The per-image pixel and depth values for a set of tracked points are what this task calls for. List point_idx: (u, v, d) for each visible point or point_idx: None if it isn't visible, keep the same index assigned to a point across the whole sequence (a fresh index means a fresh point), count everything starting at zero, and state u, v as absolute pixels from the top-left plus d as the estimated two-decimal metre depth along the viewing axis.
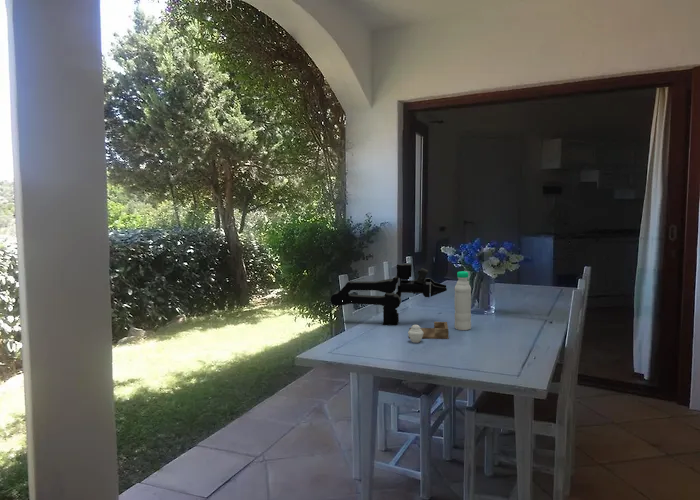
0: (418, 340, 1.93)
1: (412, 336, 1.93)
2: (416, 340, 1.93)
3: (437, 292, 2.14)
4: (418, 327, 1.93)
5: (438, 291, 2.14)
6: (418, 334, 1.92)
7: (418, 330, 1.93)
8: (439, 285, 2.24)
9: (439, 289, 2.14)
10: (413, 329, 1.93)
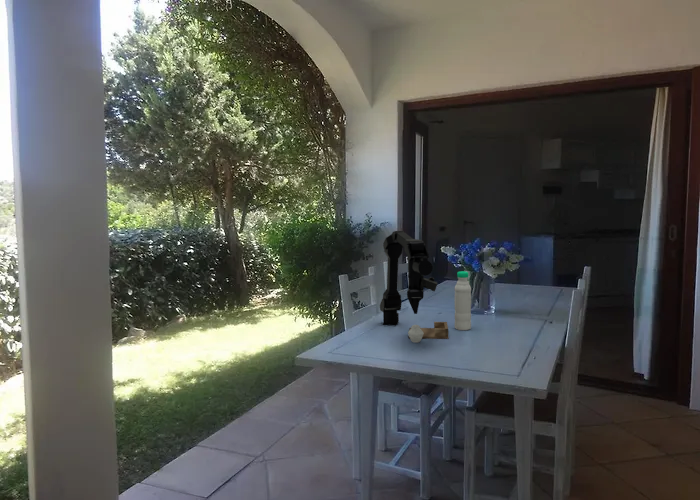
0: (418, 340, 1.93)
1: (412, 336, 1.93)
2: (416, 340, 1.93)
3: (412, 304, 1.88)
4: (418, 327, 1.93)
5: (413, 305, 1.88)
6: (418, 334, 1.92)
7: (418, 330, 1.93)
8: None
9: (416, 306, 1.88)
10: (413, 329, 1.93)
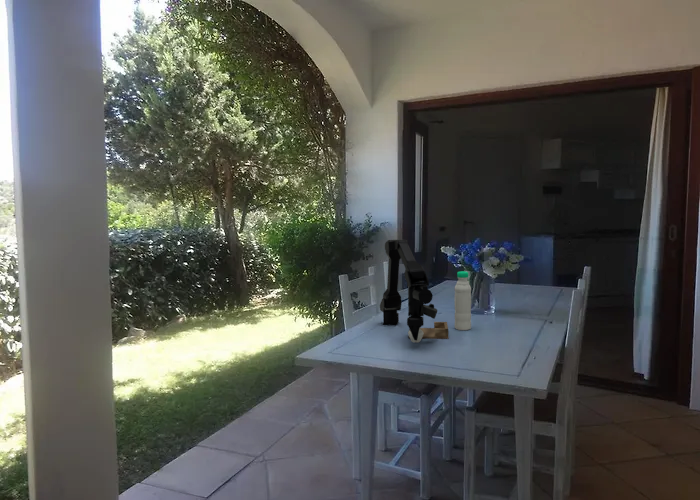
0: (418, 340, 1.93)
1: (412, 336, 1.93)
2: (416, 340, 1.93)
3: (412, 330, 1.90)
4: None
5: (413, 331, 1.90)
6: (418, 334, 1.92)
7: None
8: None
9: (416, 332, 1.90)
10: None
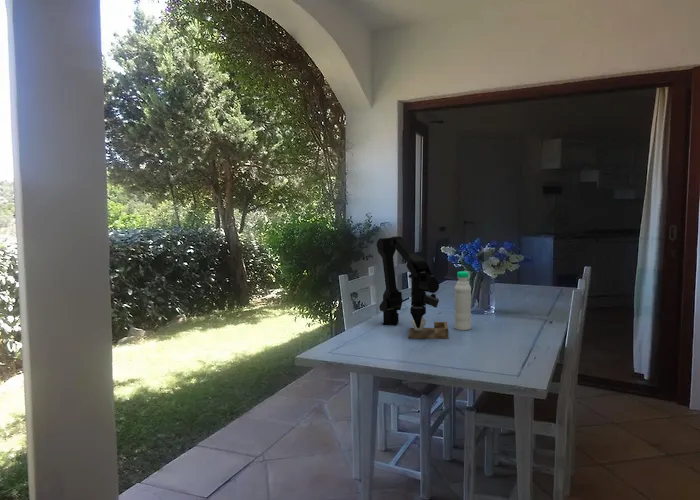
0: (421, 328, 2.04)
1: (415, 324, 2.04)
2: (419, 328, 2.04)
3: (415, 319, 2.01)
4: None
5: (416, 320, 2.02)
6: (421, 322, 2.03)
7: (421, 319, 2.04)
8: None
9: (418, 320, 2.02)
10: None
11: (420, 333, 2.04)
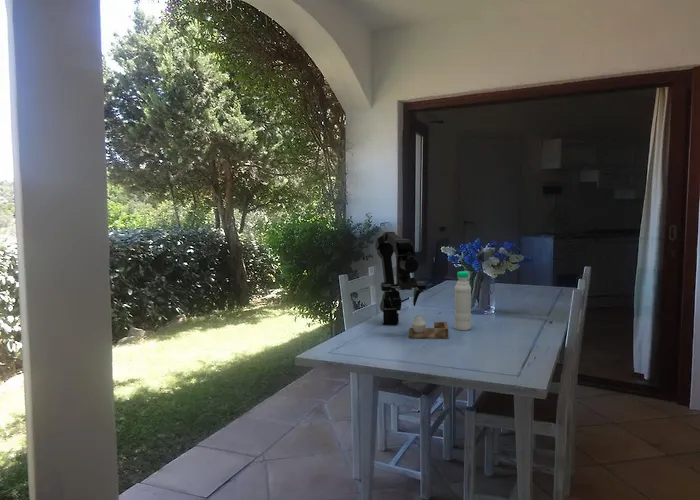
0: (421, 330, 2.04)
1: (415, 326, 2.04)
2: (419, 330, 2.04)
3: (388, 296, 2.07)
4: (421, 318, 2.05)
5: (389, 297, 2.06)
6: (421, 325, 2.03)
7: (421, 321, 2.04)
8: (414, 298, 2.06)
9: (390, 299, 2.05)
10: (416, 320, 2.04)
11: (420, 333, 2.04)
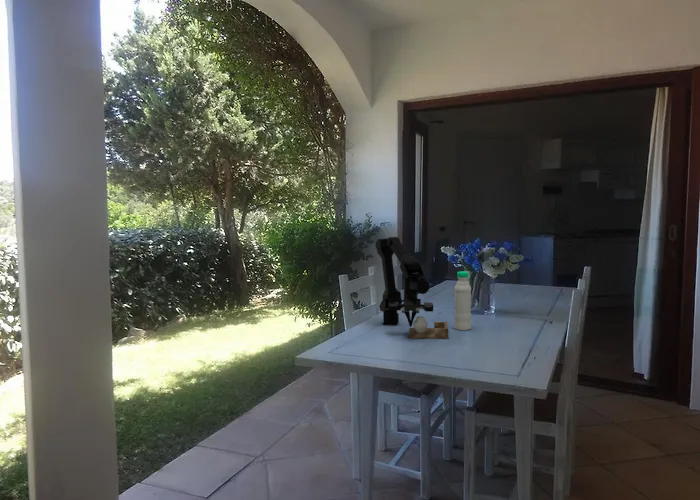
0: (422, 330, 2.04)
1: (417, 326, 2.04)
2: (420, 330, 2.04)
3: None
4: (423, 318, 2.04)
5: None
6: (422, 325, 2.03)
7: (422, 321, 2.04)
8: (410, 319, 2.06)
9: (407, 318, 2.06)
10: (418, 320, 2.04)
11: (420, 333, 2.04)
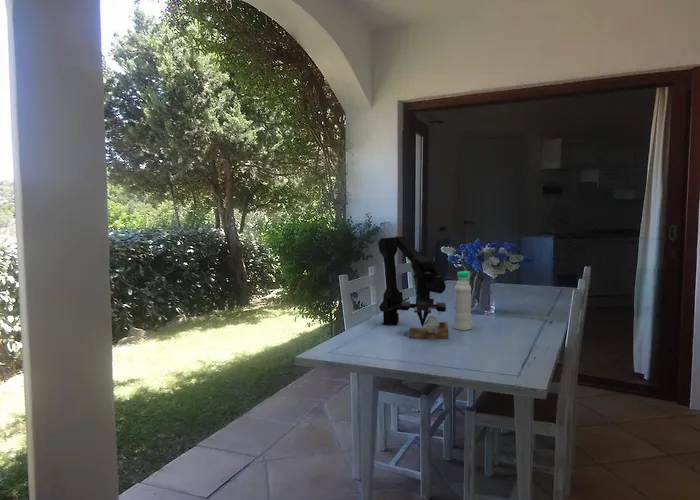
0: (434, 331, 2.03)
1: (428, 326, 2.03)
2: (432, 330, 2.03)
3: None
4: (434, 318, 2.04)
5: None
6: (434, 325, 2.02)
7: (434, 321, 2.03)
8: (422, 319, 2.05)
9: (419, 318, 2.05)
10: (429, 320, 2.03)
11: (420, 333, 2.04)
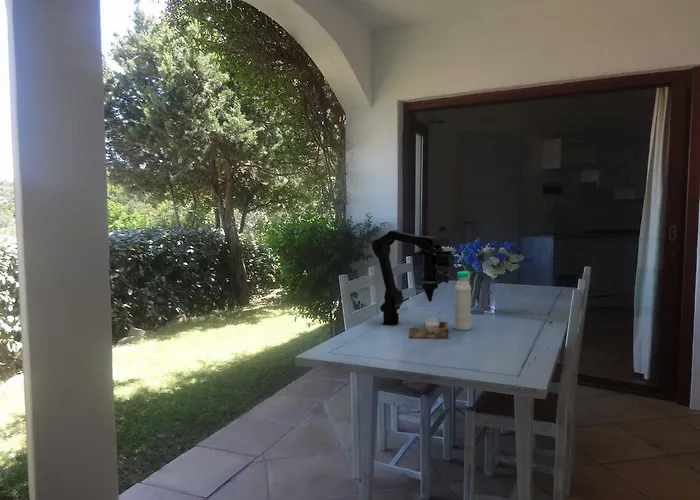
0: (434, 331, 2.03)
1: (428, 327, 2.03)
2: (432, 331, 2.03)
3: (427, 293, 2.10)
4: (434, 318, 2.03)
5: (428, 294, 2.10)
6: (434, 325, 2.02)
7: (434, 321, 2.03)
8: None
9: (430, 294, 2.10)
10: (429, 320, 2.03)
11: (420, 333, 2.04)
